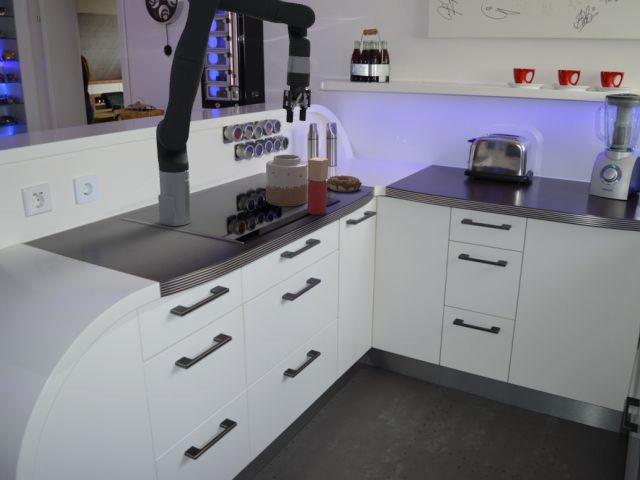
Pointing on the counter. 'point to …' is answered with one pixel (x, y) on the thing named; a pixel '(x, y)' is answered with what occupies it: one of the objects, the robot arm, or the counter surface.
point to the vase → (286, 181)
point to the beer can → (317, 197)
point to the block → (317, 169)
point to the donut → (343, 183)
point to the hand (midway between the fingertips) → (296, 121)
